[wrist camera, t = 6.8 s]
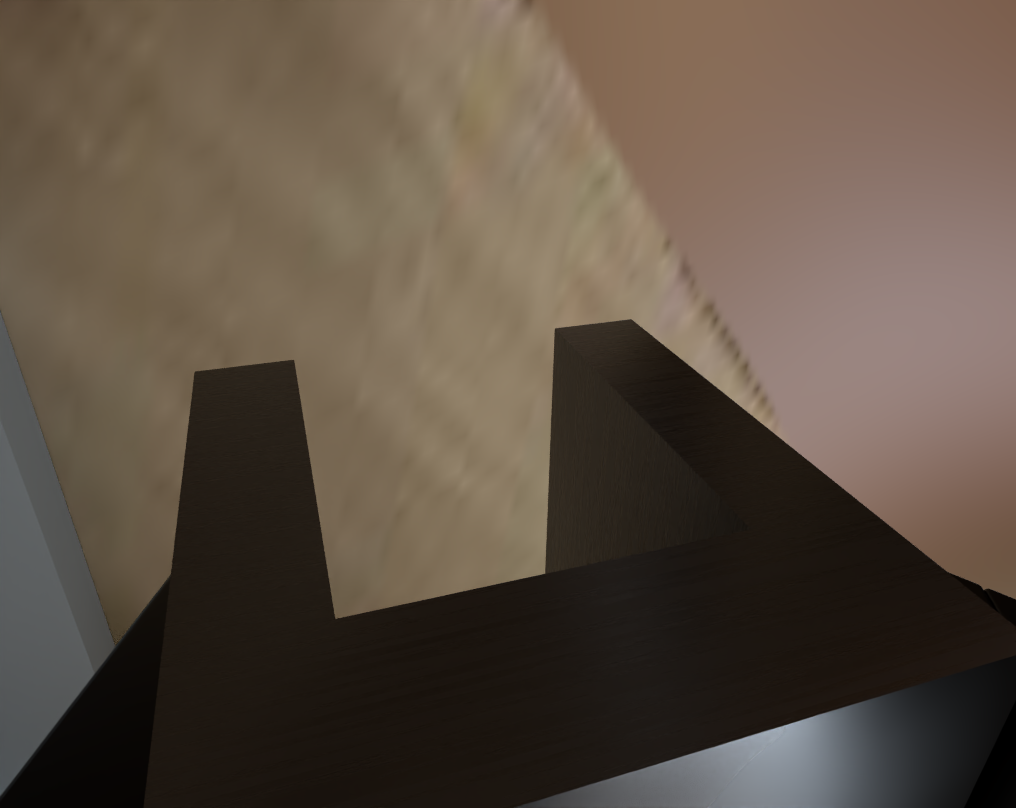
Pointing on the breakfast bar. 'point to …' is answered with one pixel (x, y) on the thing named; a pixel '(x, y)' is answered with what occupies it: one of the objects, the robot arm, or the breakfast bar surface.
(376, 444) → the breakfast bar surface
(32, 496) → the vise
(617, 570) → the dark grey block
